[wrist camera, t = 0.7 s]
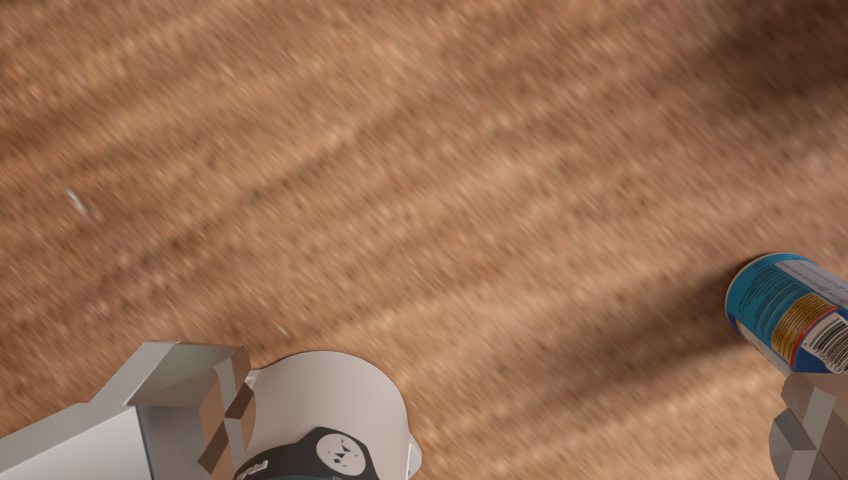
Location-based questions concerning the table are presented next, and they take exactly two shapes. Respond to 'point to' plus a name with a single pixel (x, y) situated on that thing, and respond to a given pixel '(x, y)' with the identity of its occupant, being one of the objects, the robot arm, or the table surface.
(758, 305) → the beverage bottle
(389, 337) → the table surface
